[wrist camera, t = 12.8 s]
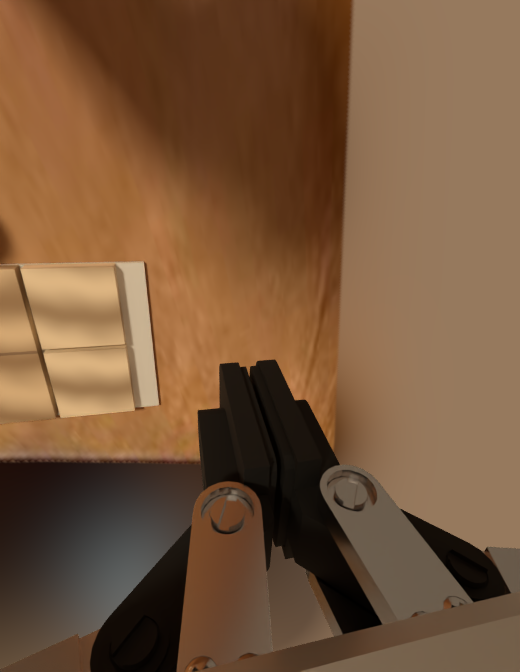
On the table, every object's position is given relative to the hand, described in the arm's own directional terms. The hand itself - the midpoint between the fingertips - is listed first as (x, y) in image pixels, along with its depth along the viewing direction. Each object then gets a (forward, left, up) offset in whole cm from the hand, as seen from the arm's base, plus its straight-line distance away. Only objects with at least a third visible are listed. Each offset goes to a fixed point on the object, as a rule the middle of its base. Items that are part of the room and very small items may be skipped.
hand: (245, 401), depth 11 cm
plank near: (+9, -12, -29) cm, 32 cm away
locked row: (+13, -20, -29) cm, 38 cm away
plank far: (+18, -12, -29) cm, 36 cm away
